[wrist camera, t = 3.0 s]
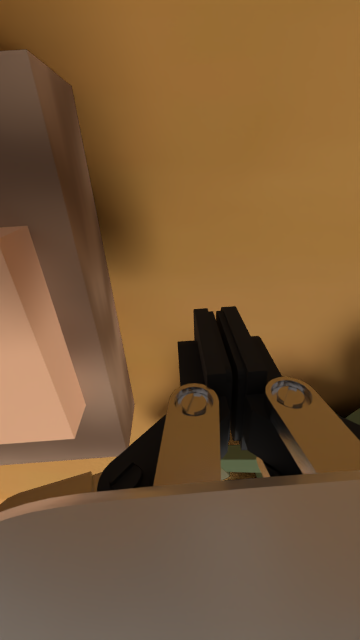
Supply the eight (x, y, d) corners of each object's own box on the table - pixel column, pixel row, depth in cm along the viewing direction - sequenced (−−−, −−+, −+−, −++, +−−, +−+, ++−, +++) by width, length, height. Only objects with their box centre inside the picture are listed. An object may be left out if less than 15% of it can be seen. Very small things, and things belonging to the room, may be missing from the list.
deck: (-183, 101, 11) (-350, 71, 7) (71, 86, 11) (26, 49, 7) (-3, 414, 20) (-39, 468, 16) (134, 404, 20) (127, 455, 16)
